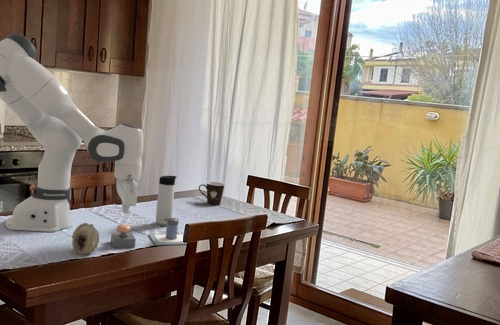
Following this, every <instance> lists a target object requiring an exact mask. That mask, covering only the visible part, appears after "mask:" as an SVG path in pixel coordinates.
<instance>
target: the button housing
mask: <svg viewBox="0 0 500 325" xmlns="http://www.w3.org/2000/svg"><path fill="white" fill-rule="evenodd" d="M110 234H111V235H110V243H111V245H112V247H113V249H126V248H127V249H128V248H129V249H131V248H132V249H133V248H134V249H135V248H136V238H135V236H134V235H133V233H132V232H129V233H126V237H121V233H120V232H111V233H110Z"/></svg>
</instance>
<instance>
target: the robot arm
mask: <svg viewBox="0 0 500 325" xmlns="http://www.w3.org/2000/svg"><path fill="white" fill-rule="evenodd" d="M36 57H37V49H36V46H34V44H33V43H32V42H31V41H30V40H29V39H28V38H27V37H26V36H24V35H23V34H21V33H18V32H13V33H11V34H9V35H7V36H5V37H4V39H1V40H0V99H1V100H2V101H3V102H4V103H5V104H6V105H7V107H8V108H10V109H11V111H12V113H14V114H15V115H16V116H17V117H18V118H19V119H20V121H22V123H23V125H24V126H25V127H26V128H27V129H28V131H29V132H30V133H31V135H32V136H33V137H34V139H35V141H37V142H38V143H39V144H40V145H42V146H44V147H45V148H44V153H43V155H42V159H41V161H40V162H39V164H38V167H37V168H38V172H37V185H35V184H31V185H30V186H29V190H30V196H29V197H28V198H26V199H24V200H23V201H21V202H20V203H18V204H17V205H16V206H15V207H14V210H13V212H12V216H10V217H8V218H7V219H6V220H5V224H4V225H5V228H7V229H8V230H11V231H29V232H53V233H54V232H57V231H59V230H62V229H63V230H64V229H67V228H69V227H71V226H72V225H73V223H72V219H71V218H72V217H71V212H70V202H71V198H72V189H71V186H70V185H71V174H72V173H71V172H72V165H73V161H74V158H75V155H76V152H77V150H78V149H79V148H80V146H81V145H82V143H83V145H84V148H85V150H86V151H87V153H88V155H89V157H90V158H91V159H92V160H93V161H95V162H98V163H111V162H114V172H113V173H114V174H113V176H114V178H115V184H116V187H115V188H116V193H117V194H118V195H119V198H120V199H121V211H122V213H123V214H128V213H129V212H130V211H129V210H130V207H136V206H137V202H138V200H137V199H138V180H141V178H142V170H143V169H142V168H143V162H142V155H143V154H144V132H143V130H142V129H141V128H140V127H139V126H137V125H134V124H131V123H130V124H129V123H124V122H123V123H120V124H119V125H117V126H115V127H113V128H111V129H106V128H102V127H100V126H98V125H96V124H94V123H93V122H92V121H91V120H90V119H89V118H88V117H87V116H86V115H85V114H84V113H83V112H82V111H81V110H80V109H79V108H78V107H77V106H76V105H75V103H74V101H73V99H72V97H71V95H70V93H69V92H68V91H67V89H66V87H64V86H65V85H63V84H62V83H61V81H60V80H59V79H58V78H57V77H56V76H54V74H53V73H52V72H50V71H49V69H48V68H46V67H45V66H43V64H41V63H39V62H38V61H37V60H36Z"/></svg>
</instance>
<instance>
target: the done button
mask: <svg viewBox="0 0 500 325" xmlns="http://www.w3.org/2000/svg"><path fill="white" fill-rule="evenodd" d="M131 228H132V226H131V225H129V224H118V225H117V226H116V231H117V233H121V237H126V233H131Z"/></svg>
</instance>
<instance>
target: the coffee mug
mask: <svg viewBox="0 0 500 325" xmlns="http://www.w3.org/2000/svg"><path fill="white" fill-rule="evenodd" d="M202 186H203V187H205V189H206V194H205V193H204V192H203V191H202V190H201V187H202ZM224 189H225V183H223V182H220V181H207V182H206V184H204V183H203V184H200V185H198V190H199V192H200V193H201V195H203V196H204V197H205V198H206V204H207V205H210V206H220V205H221V203H222V198H223V194H224Z"/></svg>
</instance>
